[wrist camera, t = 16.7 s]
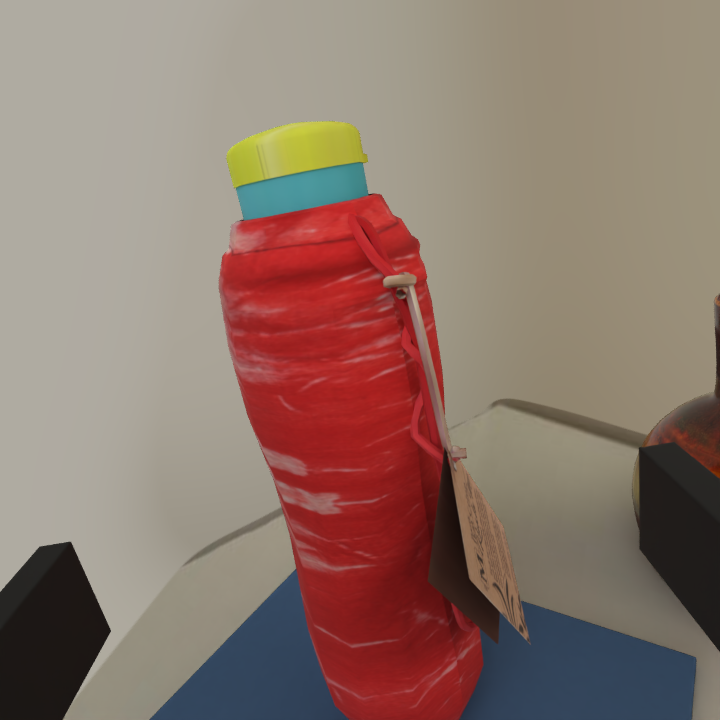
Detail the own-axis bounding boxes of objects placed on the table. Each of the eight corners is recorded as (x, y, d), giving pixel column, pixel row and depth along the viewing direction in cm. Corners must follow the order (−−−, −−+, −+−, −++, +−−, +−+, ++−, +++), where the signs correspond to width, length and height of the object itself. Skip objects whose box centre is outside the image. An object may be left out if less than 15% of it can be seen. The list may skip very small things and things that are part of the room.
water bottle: (606, 736, 21) (575, 49, 13) (478, 917, 17) (312, 56, 9) (407, 588, 30) (317, 140, 22) (293, 679, 26) (132, 164, 18)
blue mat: (125, 754, 24) (122, 747, 24) (327, 543, 36) (326, 537, 36) (646, 1239, 12) (646, 1230, 11) (696, 665, 23) (696, 656, 23)
